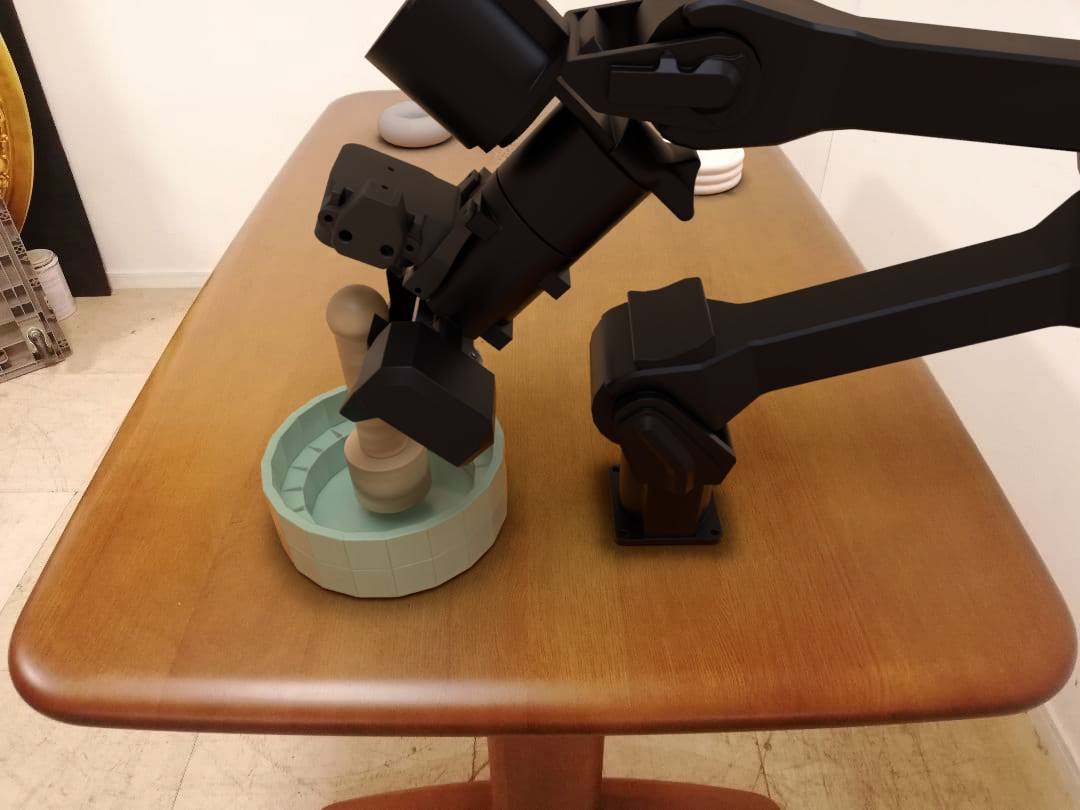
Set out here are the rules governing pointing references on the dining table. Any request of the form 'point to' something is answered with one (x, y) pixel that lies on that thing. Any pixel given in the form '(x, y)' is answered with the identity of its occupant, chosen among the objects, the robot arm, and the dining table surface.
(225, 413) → the dining table surface
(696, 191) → the coaster
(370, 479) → the pestle
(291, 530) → the bowl
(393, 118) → the donut
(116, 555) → the dining table surface
